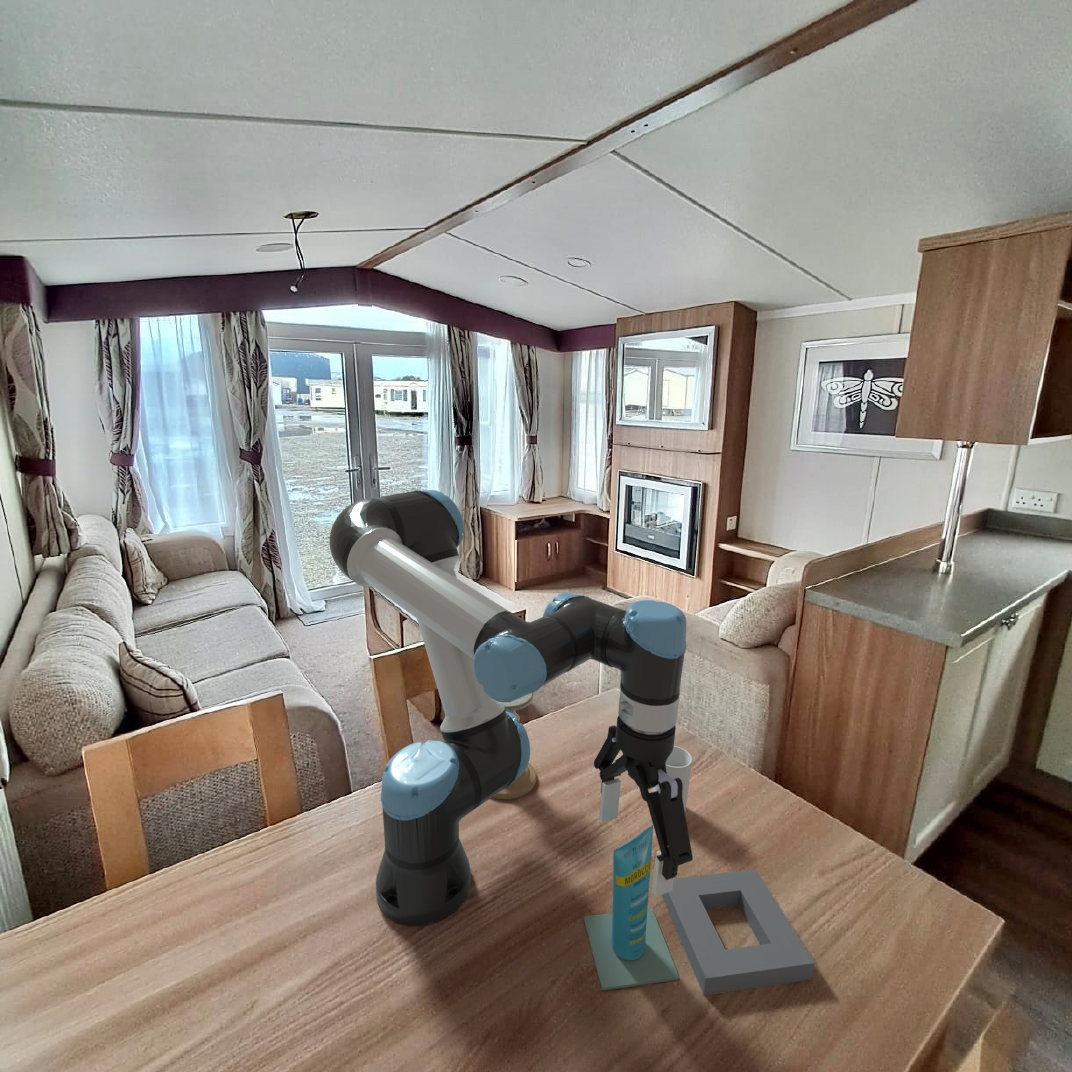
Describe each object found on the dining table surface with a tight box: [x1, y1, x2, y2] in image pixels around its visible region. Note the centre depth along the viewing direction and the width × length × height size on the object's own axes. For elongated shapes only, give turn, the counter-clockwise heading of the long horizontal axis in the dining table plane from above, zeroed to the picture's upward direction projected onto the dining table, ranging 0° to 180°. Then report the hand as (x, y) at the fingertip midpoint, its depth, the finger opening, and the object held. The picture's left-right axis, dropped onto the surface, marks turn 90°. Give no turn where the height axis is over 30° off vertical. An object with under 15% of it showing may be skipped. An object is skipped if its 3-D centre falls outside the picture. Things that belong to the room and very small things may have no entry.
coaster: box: [583, 908, 680, 991], centre depth 85 cm, size 11×11×1 cm
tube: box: [611, 824, 654, 960], centre depth 82 cm, size 7×5×19 cm, turn 131°
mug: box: [652, 745, 693, 812], centre depth 112 cm, size 10×7×12 cm, turn 20°
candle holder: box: [492, 693, 537, 800], centre depth 117 cm, size 12×12×20 cm
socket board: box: [661, 869, 816, 996], centre depth 87 cm, size 16×16×3 cm
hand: (633, 852), depth 81 cm, fingers open, 13 cm apart
